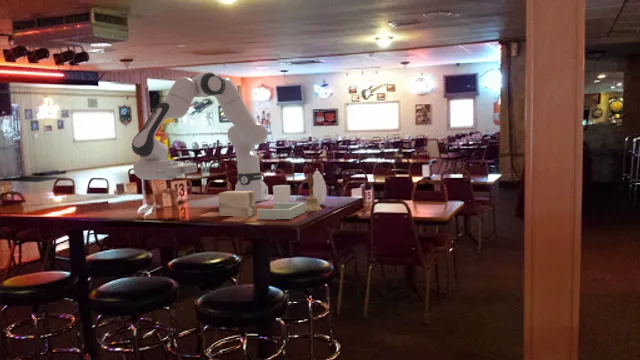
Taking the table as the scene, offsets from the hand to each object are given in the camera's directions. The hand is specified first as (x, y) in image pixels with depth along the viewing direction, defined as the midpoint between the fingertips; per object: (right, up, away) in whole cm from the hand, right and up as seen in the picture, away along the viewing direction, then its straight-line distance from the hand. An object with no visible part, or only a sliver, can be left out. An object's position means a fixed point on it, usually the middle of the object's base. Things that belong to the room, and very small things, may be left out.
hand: (195, 169), depth 238 cm
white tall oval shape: (+53, -16, +18) cm, 58 cm away
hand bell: (+50, -18, +3) cm, 53 cm away
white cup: (+37, -17, +12) cm, 42 cm away
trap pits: (+14, -20, -7) cm, 25 cm away
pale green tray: (+38, -19, -10) cm, 44 cm away
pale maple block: (+19, -20, -4) cm, 27 cm away
